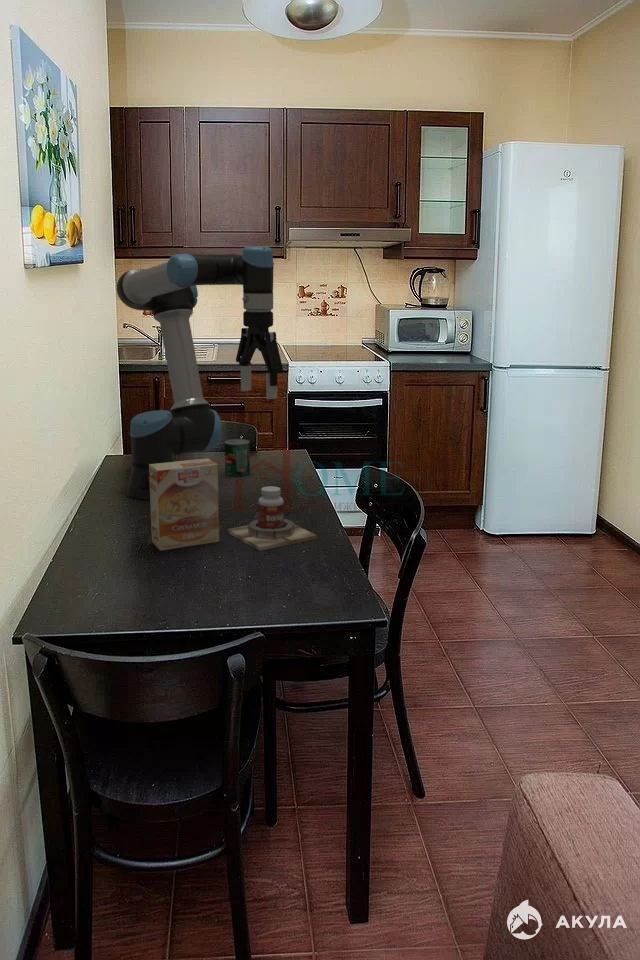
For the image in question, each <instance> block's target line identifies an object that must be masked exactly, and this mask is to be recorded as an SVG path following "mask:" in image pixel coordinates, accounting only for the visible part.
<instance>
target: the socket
mask: <svg viewBox="0 0 640 960" xmlns="http://www.w3.org/2000/svg"><path fill="white" fill-rule="evenodd" d="M227 534H229V535H231V536H233V538H236V539H237V540H239V541H240V542H243V543H245V544H246V545H248V546H250V547H252V548H254V549H255V550H257V551H258V552H262V551H267V550H271V549H276V548H281V547H285V546H290V545H295V544H300V543H305V542H309V541H316V540H317V537H318V536H317V534H315V533H313V532H312V531H311V532H310V531H308V530H307V529H305V528H302V527H301V526H300V525H296V523H295V522H294V521H292V520H289V519H288V518H284V528H279V529H261V528H259V527H258V519H257V518H256V519H254V520H251V521H250V523H249V524H247V525H242V526H237V527H230V528H227Z"/></svg>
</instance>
